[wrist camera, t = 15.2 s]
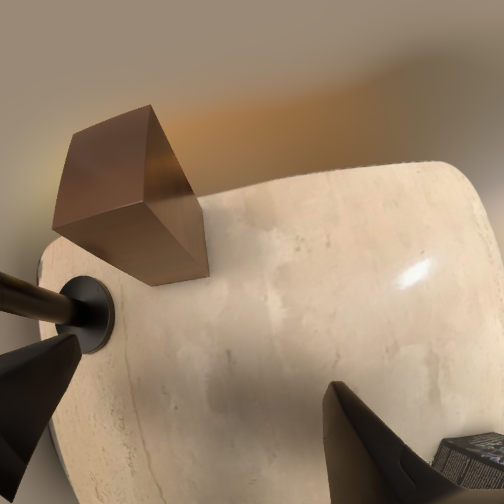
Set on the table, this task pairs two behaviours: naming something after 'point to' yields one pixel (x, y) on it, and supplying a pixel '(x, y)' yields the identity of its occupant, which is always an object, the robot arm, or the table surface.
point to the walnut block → (131, 201)
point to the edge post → (64, 307)
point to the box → (473, 461)
